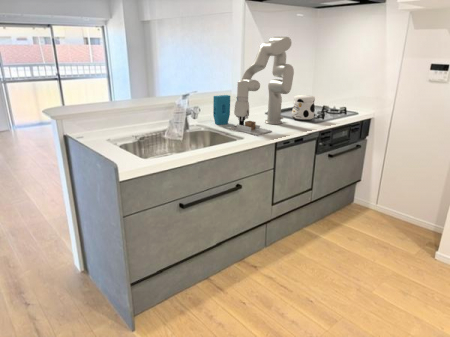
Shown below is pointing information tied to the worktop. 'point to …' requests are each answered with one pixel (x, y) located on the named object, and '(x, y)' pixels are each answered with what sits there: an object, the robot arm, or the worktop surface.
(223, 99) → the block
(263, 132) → the tube board
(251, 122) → the walnut block
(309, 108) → the milk container
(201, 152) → the worktop surface
